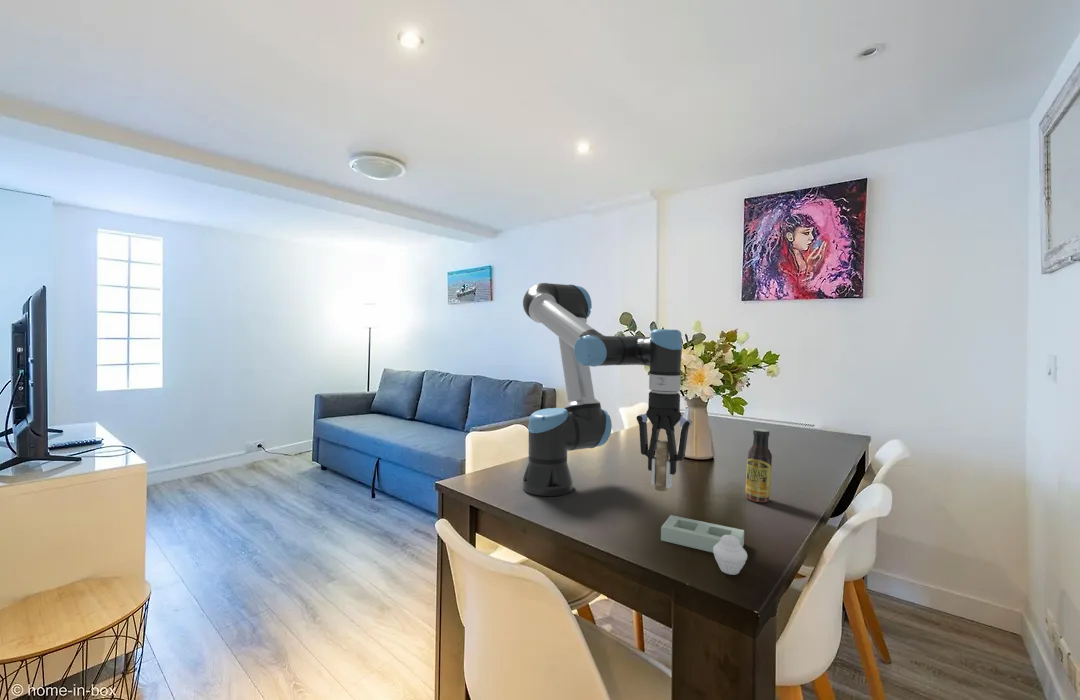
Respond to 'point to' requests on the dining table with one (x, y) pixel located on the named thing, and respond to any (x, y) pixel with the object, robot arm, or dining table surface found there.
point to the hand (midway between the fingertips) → (661, 484)
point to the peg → (661, 465)
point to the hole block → (696, 533)
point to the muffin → (729, 554)
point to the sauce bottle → (759, 468)
